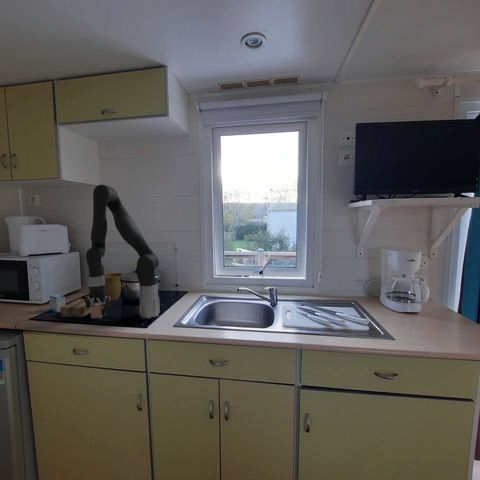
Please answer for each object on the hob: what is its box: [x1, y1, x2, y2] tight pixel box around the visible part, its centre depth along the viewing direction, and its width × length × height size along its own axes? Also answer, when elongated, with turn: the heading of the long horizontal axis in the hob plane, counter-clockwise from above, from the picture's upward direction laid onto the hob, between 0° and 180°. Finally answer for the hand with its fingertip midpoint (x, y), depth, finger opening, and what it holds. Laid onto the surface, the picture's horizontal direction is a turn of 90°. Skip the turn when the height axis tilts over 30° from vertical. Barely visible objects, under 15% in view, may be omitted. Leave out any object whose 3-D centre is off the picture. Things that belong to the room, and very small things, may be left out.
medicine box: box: [49, 293, 66, 313], centre depth 140 cm, size 8×4×9 cm, turn 62°
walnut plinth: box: [60, 298, 99, 318], centre depth 138 cm, size 12×14×5 cm
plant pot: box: [104, 272, 125, 301], centre depth 160 cm, size 15×15×16 cm
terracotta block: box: [90, 304, 107, 319], centre depth 131 cm, size 5×5×6 cm
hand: (98, 315), depth 131 cm, fingers closed on terracotta block, 5 cm apart
